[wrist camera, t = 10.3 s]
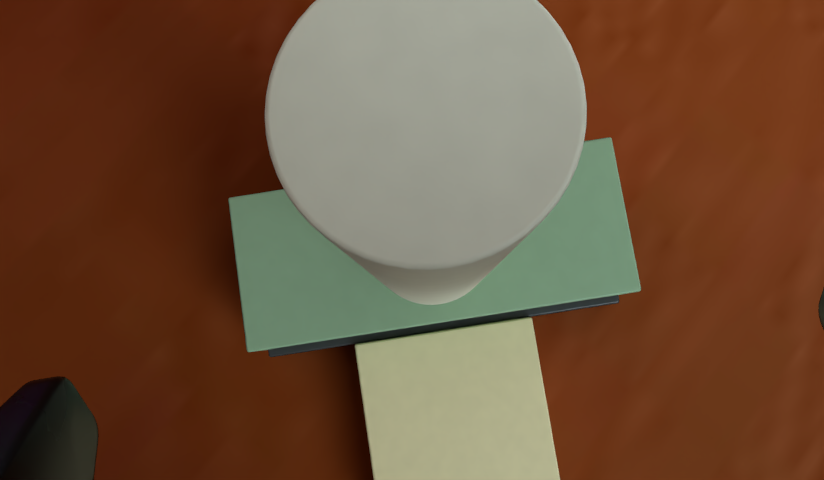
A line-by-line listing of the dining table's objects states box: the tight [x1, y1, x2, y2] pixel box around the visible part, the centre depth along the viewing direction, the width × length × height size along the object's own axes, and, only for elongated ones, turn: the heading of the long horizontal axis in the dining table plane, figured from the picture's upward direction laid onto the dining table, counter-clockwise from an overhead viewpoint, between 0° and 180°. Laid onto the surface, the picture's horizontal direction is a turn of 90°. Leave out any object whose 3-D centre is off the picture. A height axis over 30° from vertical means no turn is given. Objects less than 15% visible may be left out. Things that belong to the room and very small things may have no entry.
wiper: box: [228, 0, 641, 357], centre depth 12 cm, size 4×9×13 cm, turn 99°
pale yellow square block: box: [355, 317, 560, 480], centre depth 18 cm, size 4×4×1 cm
